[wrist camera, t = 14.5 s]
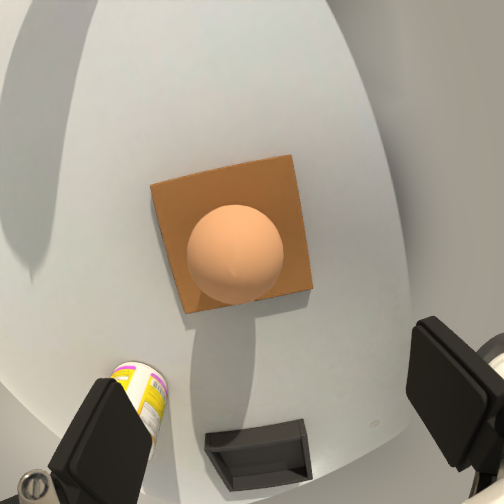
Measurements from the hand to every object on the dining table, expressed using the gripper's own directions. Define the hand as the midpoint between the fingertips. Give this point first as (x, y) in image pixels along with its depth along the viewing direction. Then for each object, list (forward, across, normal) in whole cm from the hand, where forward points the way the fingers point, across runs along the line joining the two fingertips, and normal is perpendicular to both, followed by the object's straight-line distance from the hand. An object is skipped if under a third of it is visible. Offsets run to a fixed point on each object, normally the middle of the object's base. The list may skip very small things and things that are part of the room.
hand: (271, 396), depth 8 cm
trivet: (+18, +1, -1) cm, 19 cm away
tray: (+19, +4, +29) cm, 35 cm away
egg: (+18, +1, -1) cm, 18 cm away
